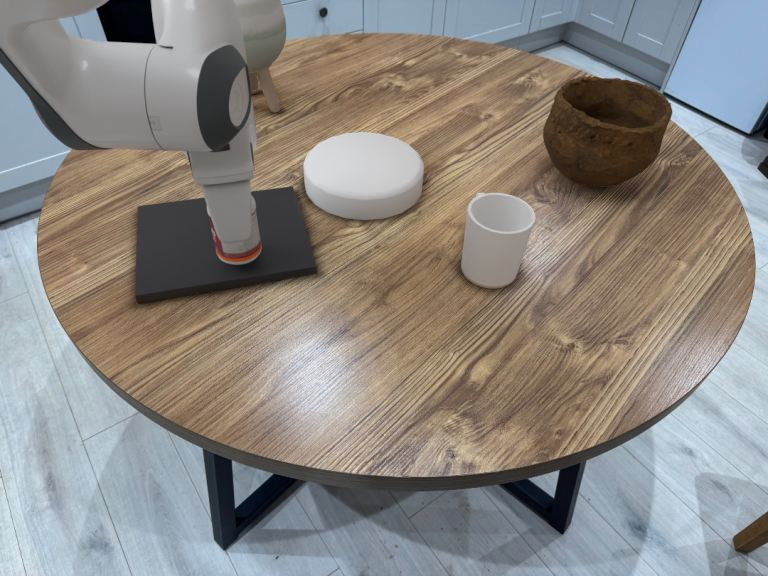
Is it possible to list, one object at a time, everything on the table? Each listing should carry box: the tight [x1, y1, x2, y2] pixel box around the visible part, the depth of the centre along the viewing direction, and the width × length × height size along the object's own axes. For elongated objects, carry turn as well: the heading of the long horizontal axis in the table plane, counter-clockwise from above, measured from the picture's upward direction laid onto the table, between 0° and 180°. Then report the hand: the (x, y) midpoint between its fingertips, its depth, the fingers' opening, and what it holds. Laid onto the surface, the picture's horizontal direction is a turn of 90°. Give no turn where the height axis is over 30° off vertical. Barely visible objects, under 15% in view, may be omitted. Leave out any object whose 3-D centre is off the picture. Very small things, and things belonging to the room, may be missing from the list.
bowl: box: [542, 75, 673, 188], centre depth 95 cm, size 19×19×15 cm
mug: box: [460, 192, 536, 290], centre depth 79 cm, size 11×9×10 cm
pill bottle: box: [207, 195, 262, 265], centre depth 75 cm, size 6×6×11 cm
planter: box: [234, 0, 287, 114], centre depth 107 cm, size 16×16×22 cm
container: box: [302, 131, 425, 221], centre depth 95 cm, size 20×20×5 cm
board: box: [134, 185, 318, 304], centre depth 84 cm, size 24×20×2 cm
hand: (234, 225), depth 75 cm, fingers closed on pill bottle, 6 cm apart
